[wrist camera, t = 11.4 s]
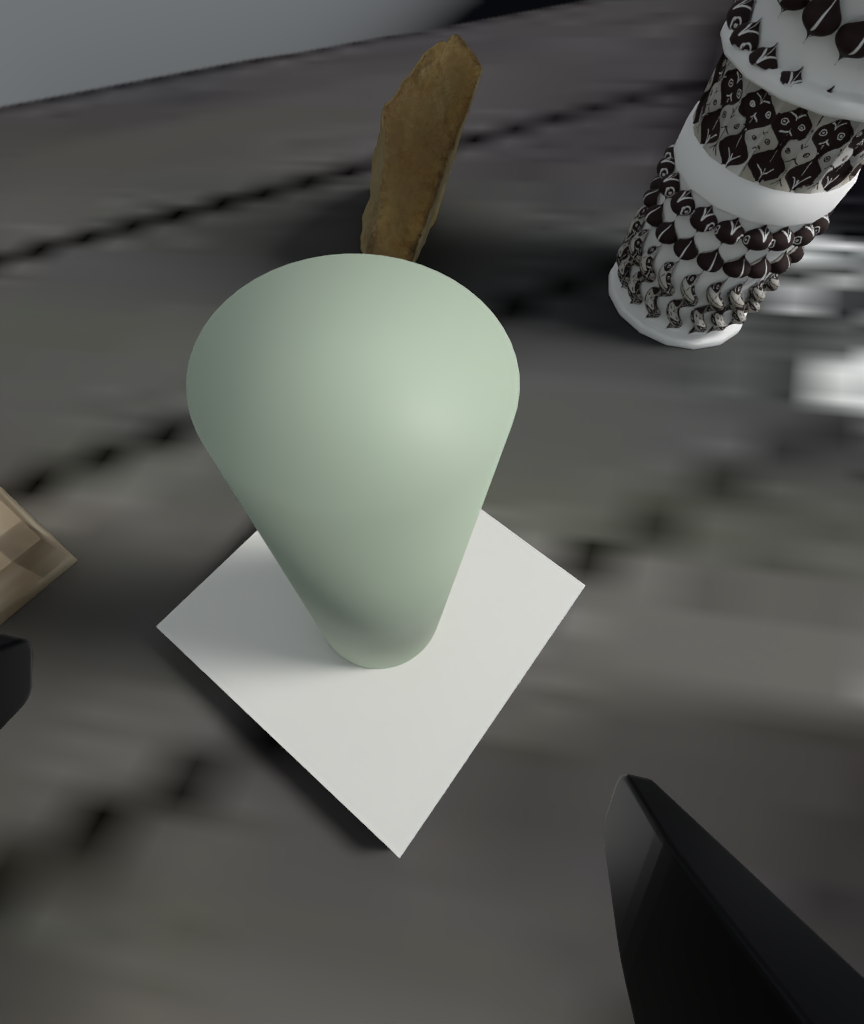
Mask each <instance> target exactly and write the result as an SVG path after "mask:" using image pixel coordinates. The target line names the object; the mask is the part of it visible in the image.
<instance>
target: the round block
mask: <svg viewBox="0 0 864 1024" xmlns="http://www.w3.org/2000/svg"><path fill="white" fill-rule="evenodd" d="M519 392H520V385H519V370H518V364H517V359H516V356H515V353H514V350H513V347H512V344H511V341H510V340H509V338H508V336H507V334H506V332H505V330H504V328H503V326H502V325H501V324H500V322H499V321H498V319H497V318H496V317H495V315H494V314H493V313H492V312H491V311H490V309H489V308H488V307H487V306H486V305H485V304H484V303H483V302H482V301H481V300H480V299H479V298H478V297H476V296H475V295H474V294H473V293H472V292H470V291H469V290H468V289H467V288H465V287H464V286H462V285H461V284H459V283H458V282H456V281H455V280H453V279H451V278H449V277H447V276H445V275H443V274H442V273H440V272H438V271H435V270H433V269H430V268H428V267H425V266H423V265H420V264H417V263H414V262H410V261H407V260H403V259H399V258H393V257H388V256H382V255H372V254H336V255H325V256H320V257H314V258H308V259H305V260H301V261H297V262H294V263H290V264H287V265H285V266H282V267H279V268H277V269H274V270H272V271H270V272H268V273H266V274H264V275H262V276H260V277H258V278H256V279H254V280H253V281H251V282H250V283H248V284H247V285H245V286H243V287H242V288H240V289H239V290H238V291H237V292H235V293H234V294H233V295H232V296H231V297H229V298H228V299H227V300H226V301H225V302H224V303H223V304H222V305H221V306H220V307H219V308H218V309H217V310H216V311H215V312H214V313H213V315H212V316H211V317H210V319H209V320H208V322H207V323H206V325H205V326H204V327H203V329H202V331H201V333H200V335H199V337H198V338H197V340H196V342H195V344H194V347H193V350H192V353H191V356H190V359H189V364H188V370H187V376H186V397H187V402H188V408H189V413H190V417H191V419H192V422H193V425H194V427H195V430H196V433H197V434H198V436H199V438H200V439H201V441H202V443H203V445H204V446H205V448H206V450H207V451H208V453H209V454H210V456H211V458H212V459H213V461H214V462H215V464H216V466H217V467H218V469H219V470H220V472H221V474H222V475H223V477H224V478H225V480H226V481H227V483H228V485H229V486H230V488H231V489H232V491H233V493H234V494H235V496H236V497H237V499H238V500H239V502H240V504H241V505H242V507H243V508H244V510H245V512H246V513H247V515H248V516H249V518H250V520H251V521H252V523H253V524H254V526H255V527H256V529H257V531H258V532H259V534H260V535H261V537H262V539H263V540H264V542H265V543H266V545H267V546H268V548H269V550H270V551H271V553H272V554H273V556H274V558H275V559H276V561H277V562H278V564H279V565H280V567H281V569H282V570H283V572H284V573H285V575H286V577H287V578H288V580H289V581H290V583H291V585H292V586H293V588H294V589H295V591H296V592H297V594H298V596H299V597H300V599H301V600H302V602H303V604H304V605H305V607H306V608H307V610H308V611H309V613H310V615H311V616H312V618H313V619H314V621H315V623H316V624H317V626H318V627H319V629H320V631H321V632H322V634H323V635H324V637H325V638H326V640H327V642H328V643H329V645H330V646H331V647H332V648H333V650H334V651H335V652H337V653H338V654H339V655H340V656H341V657H342V658H344V659H345V660H347V661H349V662H351V663H353V664H355V665H358V666H361V667H365V668H370V669H386V668H391V667H395V666H398V665H401V664H404V663H406V662H408V661H410V660H411V659H413V658H414V657H415V656H417V655H418V654H419V653H420V652H421V651H422V650H423V649H424V648H425V647H426V646H427V645H428V644H429V642H430V640H431V639H432V637H433V635H434V633H435V631H436V629H437V626H438V623H439V621H440V618H441V615H442V613H443V610H444V607H445V605H446V602H447V599H448V596H449V594H450V591H451V588H452V586H453V583H454V580H455V578H456V575H457V572H458V569H459V567H460V564H461V561H462V559H463V556H464V553H465V550H466V548H467V545H468V542H469V540H470V537H471V534H472V532H473V529H474V526H475V523H476V521H477V518H478V515H479V513H480V510H481V507H482V505H483V502H484V499H485V496H486V494H487V491H488V488H489V486H490V483H491V480H492V477H493V475H494V472H495V469H496V467H497V464H498V461H499V459H500V456H501V453H502V450H503V448H504V445H505V442H506V440H507V437H508V434H509V431H510V429H511V426H512V423H513V420H514V417H515V414H516V410H517V406H518V399H519Z"/></svg>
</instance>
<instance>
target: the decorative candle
mask: <svg viewBox="0 0 864 1024" xmlns="http://www.w3.org/2000/svg"><path fill="white" fill-rule="evenodd" d="M720 35H721V40H722V45H723V50H724V52H723V54H722V56H721V58H720V60H719V62H718V64H717V66H716V68H715V70H714V72H713V75H712V77H711V79H710V81H709V83H708V85H707V87H706V89H705V91H704V93H703V96H702V98H701V100H700V101H698V103H697V104H696V106H695V107H694V109H693V110H692V112H691V113H690V115H689V116H688V118H687V120H686V122H685V125H684V127H683V129H682V131H681V133H680V135H679V137H678V139H677V141H676V143H674V144H672V145H670V146H669V147H668V148H667V149H666V151H665V154H664V158H663V159H661V160H660V162H659V163H658V165H657V173H658V175H659V176H657V177H655V178H654V179H653V180H652V182H651V185H650V190H648V191H647V192H646V193H645V194H644V197H643V202H644V205H643V206H642V207H641V208H640V209H639V210H638V211H637V213H636V215H635V217H634V220H633V221H632V222H631V223H630V225H629V227H628V231H627V236H626V238H625V239H624V241H623V245H622V246H621V247H620V248H619V250H618V252H617V256H616V260H617V261H616V263H615V264H614V266H613V268H612V269H611V271H610V273H609V275H608V290H609V296H610V298H611V300H612V302H613V304H614V306H615V308H616V309H617V311H618V313H619V315H620V316H621V317H622V318H624V319H625V320H626V321H627V322H628V323H629V324H630V325H631V326H633V327H634V328H635V329H636V330H637V331H638V332H639V333H641V334H643V335H645V336H648V337H650V338H652V339H654V340H656V341H658V342H660V343H663V344H665V345H668V346H675V347H681V348H687V349H693V350H695V349H701V348H707V347H714V346H719V345H721V344H722V343H724V342H725V341H727V340H728V339H730V338H731V337H733V336H734V335H736V334H737V333H738V332H739V330H740V329H741V326H742V324H743V323H744V322H745V321H746V315H747V312H751V313H756V312H758V311H759V308H760V305H759V302H762V301H763V300H764V298H765V294H766V291H775V290H776V289H777V288H778V287H779V280H778V275H780V274H782V273H783V272H785V271H786V270H787V269H788V268H789V267H790V265H791V263H796V262H799V261H800V260H801V259H802V257H803V255H804V247H803V246H805V245H807V244H809V243H810V242H811V241H812V240H813V239H814V237H815V236H816V235H821V234H822V233H824V232H825V231H826V229H827V228H828V226H829V218H828V217H829V216H830V215H831V214H832V213H833V211H834V208H835V206H836V205H837V204H838V203H839V202H840V200H841V199H842V198H843V197H844V195H845V194H846V193H847V192H848V191H849V189H850V188H851V187H852V186H853V185H854V183H855V182H856V180H857V177H858V174H859V171H860V168H861V167H862V165H863V164H864V0H734V4H733V5H732V6H731V8H730V9H729V11H728V14H727V20H726V22H725V24H724V26H723V28H722V30H721V32H720ZM768 278H769V279H768Z"/></svg>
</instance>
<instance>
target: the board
mask: <svg viewBox="0 0 864 1024" xmlns="http://www.w3.org/2000/svg"><path fill="white" fill-rule="evenodd" d="M584 587H585V585H584V584H583V583H581V582H580V581H578V580H577V579H576V578H574V577H573V576H572V575H570V574H569V573H568V572H566V571H565V570H563V569H562V568H561V567H559V566H558V565H557V564H555V563H554V562H552V561H551V560H550V559H548V558H547V557H546V556H544V555H543V554H542V553H540V552H539V551H537V550H536V549H535V548H533V547H532V546H531V545H529V544H528V543H527V542H525V541H524V540H522V539H521V538H520V537H518V536H517V535H516V534H514V533H513V532H511V531H510V530H509V529H507V528H506V527H505V526H503V525H502V524H501V523H499V522H498V521H496V520H495V519H494V518H492V517H491V516H490V515H488V514H487V513H486V512H484V511H483V510H480V513H479V515H478V518H477V521H476V523H475V526H474V529H473V532H472V534H471V537H470V540H469V542H468V545H467V548H466V550H465V553H464V556H463V559H462V561H461V564H460V567H459V569H458V572H457V575H456V578H455V580H454V583H453V586H452V588H451V591H450V594H449V596H448V599H447V602H446V605H445V607H444V610H443V613H442V615H441V618H440V621H439V623H438V626H437V629H436V631H435V633H434V635H433V637H432V639H431V640H430V642H429V644H428V645H427V646H426V647H425V648H424V649H423V650H422V651H421V652H420V653H419V654H418V655H417V656H415V657H414V658H413V659H411V660H410V661H408V662H406V663H404V664H401V665H398V666H395V667H391V668H386V669H370V668H365V667H361V666H358V665H355V664H353V663H351V662H349V661H347V660H345V659H344V658H342V657H341V656H340V655H339V654H338V653H337V652H335V651H334V650H333V648H332V647H331V646H330V645H329V643H328V642H327V640H326V638H325V637H324V635H323V634H322V632H321V631H320V629H319V627H318V626H317V624H316V623H315V621H314V619H313V618H312V616H311V615H310V613H309V611H308V610H307V608H306V607H305V605H304V604H303V602H302V600H301V599H300V597H299V596H298V594H297V592H296V591H295V589H294V588H293V586H292V585H291V583H290V581H289V580H288V578H287V577H286V575H285V573H284V572H283V570H282V569H281V567H280V565H279V564H278V562H277V561H276V559H275V558H274V556H273V554H272V553H271V551H270V550H269V548H268V546H267V545H266V543H265V542H264V540H263V539H262V537H261V535H260V534H259V532H258V531H256V532H255V533H254V534H253V535H252V536H251V537H250V538H249V539H248V540H247V541H246V542H244V543H243V544H242V545H241V546H240V547H239V548H238V549H237V550H236V551H235V552H234V553H233V554H232V555H231V556H230V557H229V558H228V559H227V560H225V561H224V562H223V563H222V564H221V565H220V566H219V567H218V568H217V569H216V570H215V571H214V572H213V573H212V574H211V575H210V576H209V577H208V578H207V579H205V580H204V581H203V582H202V583H201V584H200V585H199V586H198V587H197V588H196V589H195V590H194V591H193V592H192V593H191V594H190V595H189V596H188V597H186V598H185V599H184V600H183V601H182V602H181V603H180V604H179V605H178V606H177V607H176V608H175V609H174V610H173V611H172V612H171V613H170V614H169V615H168V616H166V617H165V618H164V619H163V620H162V621H161V622H160V623H159V624H158V625H157V626H156V627H157V628H158V629H159V630H160V631H161V632H162V633H163V634H164V635H165V636H166V637H167V638H168V639H170V640H171V641H172V642H173V643H174V644H175V645H176V646H177V647H178V648H179V649H180V650H181V651H182V652H183V653H184V654H185V655H186V656H187V657H188V658H190V659H191V660H192V661H193V662H194V663H195V664H196V665H197V666H198V667H199V668H200V669H201V670H202V671H203V672H204V673H205V674H206V675H207V676H208V677H210V678H211V679H212V680H213V681H214V682H215V683H216V684H217V685H218V686H219V687H220V688H221V689H222V690H223V691H224V692H225V693H226V694H227V695H228V696H230V697H231V698H232V699H233V700H234V701H235V702H236V703H237V704H238V705H239V706H240V707H241V708H242V709H243V710H244V711H245V712H246V713H247V714H248V715H250V716H251V717H252V718H253V719H254V720H255V721H256V722H257V723H258V724H259V725H260V726H261V727H262V728H263V729H264V730H265V731H266V732H267V733H268V734H270V735H271V736H272V737H273V738H274V739H275V740H276V741H277V742H278V743H279V744H280V745H281V746H282V747H283V748H284V749H285V750H286V751H287V752H288V753H290V754H291V755H292V756H293V757H294V758H295V759H296V760H297V761H298V762H299V763H300V764H301V765H302V766H303V767H304V768H305V769H306V770H307V771H308V772H310V773H311V774H312V775H313V776H314V777H315V778H316V779H317V780H318V781H319V782H320V783H321V784H322V785H323V786H324V787H325V788H326V789H327V790H328V791H330V792H331V793H332V794H333V795H334V796H335V797H336V798H337V799H338V800H339V801H340V802H341V803H342V804H343V805H344V806H345V807H346V808H347V809H348V810H350V811H351V812H352V813H353V814H354V815H355V816H356V817H357V818H358V819H359V820H360V821H361V822H362V823H363V824H364V825H365V826H366V827H367V828H368V829H370V830H371V831H372V832H373V833H374V834H375V835H376V836H377V837H378V838H379V839H380V840H381V841H382V842H383V843H384V844H385V845H386V846H387V847H388V848H390V849H391V850H392V851H393V852H394V853H395V854H396V855H397V856H398V857H399V858H400V857H401V855H402V854H403V852H404V851H405V850H406V848H407V847H408V845H409V844H410V842H411V841H412V839H413V838H414V836H415V835H416V833H417V832H418V830H419V829H420V828H421V826H422V825H423V823H424V822H425V820H426V819H427V817H428V816H429V814H430V813H431V811H432V810H433V808H434V807H435V806H436V804H437V803H438V801H439V800H440V798H441V797H442V795H443V794H444V792H445V791H446V789H447V788H448V786H449V785H450V783H451V782H452V781H453V779H454V778H455V776H456V775H457V773H458V772H459V770H460V769H461V767H462V766H463V764H464V763H465V761H466V760H467V759H468V757H469V756H470V754H471V753H472V751H473V750H474V748H475V747H476V745H477V744H478V742H479V741H480V739H481V738H482V737H483V735H484V734H485V732H486V731H487V729H488V728H489V726H490V725H491V723H492V722H493V720H494V719H495V717H496V716H497V714H498V713H499V712H500V710H501V709H502V707H503V706H504V704H505V703H506V701H507V700H508V698H509V697H510V695H511V694H512V692H513V691H514V690H515V688H516V687H517V685H518V684H519V682H520V681H521V679H522V678H523V676H524V675H525V673H526V672H527V670H528V669H529V668H530V666H531V665H532V663H533V662H534V660H535V659H536V657H537V656H538V654H539V653H540V651H541V650H542V648H543V647H544V645H545V644H546V643H547V641H548V640H549V638H550V637H551V635H552V634H553V632H554V631H555V629H556V628H557V626H558V625H559V623H560V622H561V621H562V619H563V618H564V616H565V615H566V613H567V612H568V610H569V609H570V607H571V606H572V604H573V603H574V601H575V600H576V599H577V597H578V596H579V594H580V593H581V591H582V590H583V588H584Z"/></svg>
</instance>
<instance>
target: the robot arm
mask: <svg viewBox="0 0 864 1024" xmlns="http://www.w3.org/2000/svg"><path fill="white" fill-rule="evenodd" d="M31 689H32V647H31V644H30V643H29V642H28V641H27V640H25V639H21V638H17V637H12V636H8V635H1V634H0V729H1V728H2V727H3V726H4V725H5V724H6V723H7V722H8V721H9V720H10V719H11V718H12V717H13V716H14V715H15V714H16V713H17V711H18V710H19V709H20V708H21V707H22V706H23V705H24V704H25V702H26V701H27V699H28V697H29V695H30V692H31ZM603 833H604V844H605V851H606V858H607V866H608V873H609V881H610V888H611V895H612V903H613V910H614V918H615V925H616V932H617V939H618V946H619V952H620V958H621V963H622V968H623V973H624V978H625V982H626V987H627V991H628V996H629V1000H630V1004H631V1009H632V1013H633V1017H634V1022H635V1024H864V977H863V976H861V975H860V974H859V973H858V972H857V971H856V970H855V969H854V968H853V967H852V966H851V965H850V964H849V963H847V962H846V961H845V960H844V959H843V958H842V957H841V956H840V955H839V954H838V953H837V952H836V951H835V950H834V949H832V948H831V947H830V946H829V945H828V944H827V943H826V942H825V941H824V940H823V939H822V938H821V937H820V936H819V935H817V934H816V933H815V932H814V931H813V930H812V929H811V928H810V927H809V926H808V925H807V924H806V923H805V922H804V921H802V920H801V919H800V918H799V917H798V916H797V915H796V914H795V913H794V912H793V911H792V910H791V909H790V908H789V907H787V906H786V905H785V904H784V903H783V902H782V901H781V900H780V899H779V898H778V897H777V896H776V895H775V894H773V893H772V892H771V891H770V890H769V889H768V888H767V887H766V886H765V885H764V884H763V883H762V882H761V881H760V880H758V879H757V878H756V877H755V876H754V875H753V874H752V873H751V872H750V871H749V870H748V869H747V868H746V867H745V866H743V865H742V864H741V863H740V862H739V861H738V860H737V859H736V858H735V857H734V856H733V855H732V854H731V853H730V852H728V851H727V850H726V849H725V848H724V847H723V846H722V845H721V844H720V843H719V842H718V841H717V840H716V839H715V838H713V837H712V836H711V835H710V834H709V833H708V832H707V831H706V830H705V829H704V828H703V827H702V826H701V825H699V824H698V823H697V822H696V821H695V820H694V819H693V818H692V817H691V816H690V815H689V814H688V813H687V812H686V811H684V810H683V809H682V808H681V807H680V806H679V805H678V804H677V803H676V802H675V801H674V800H673V799H672V798H671V797H669V796H668V795H667V794H666V793H665V792H664V791H663V790H662V789H661V788H660V787H659V786H658V785H657V784H656V783H654V782H653V781H652V780H650V779H648V778H643V777H639V776H634V775H630V774H624V775H621V776H620V778H619V779H618V781H617V783H616V786H615V789H614V792H613V795H612V798H611V801H610V804H609V807H608V810H607V813H606V817H605V820H604V829H603Z"/></svg>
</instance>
